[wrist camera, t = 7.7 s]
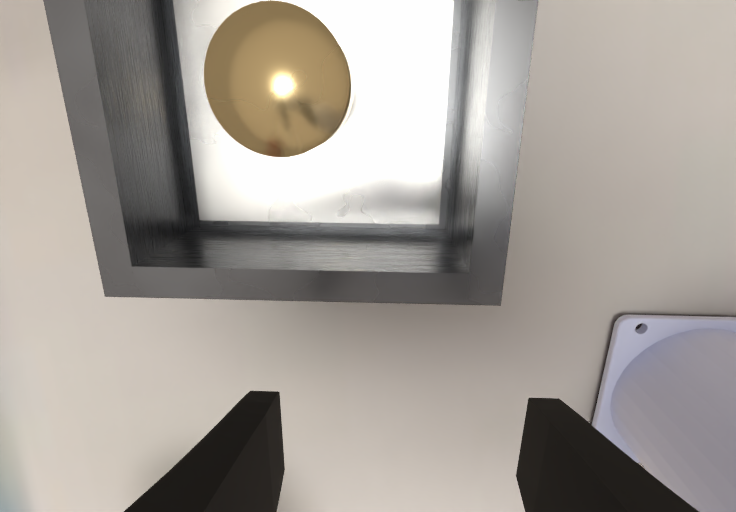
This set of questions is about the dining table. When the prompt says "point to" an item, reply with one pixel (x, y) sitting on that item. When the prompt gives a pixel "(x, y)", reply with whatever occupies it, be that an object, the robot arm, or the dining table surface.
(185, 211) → the press housing
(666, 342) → the robot arm
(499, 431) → the dining table surface
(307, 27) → the plunger
